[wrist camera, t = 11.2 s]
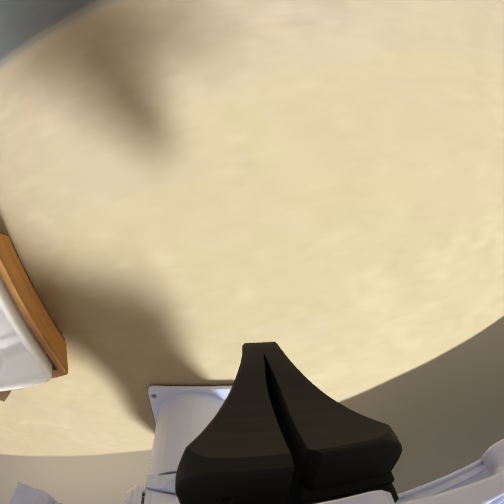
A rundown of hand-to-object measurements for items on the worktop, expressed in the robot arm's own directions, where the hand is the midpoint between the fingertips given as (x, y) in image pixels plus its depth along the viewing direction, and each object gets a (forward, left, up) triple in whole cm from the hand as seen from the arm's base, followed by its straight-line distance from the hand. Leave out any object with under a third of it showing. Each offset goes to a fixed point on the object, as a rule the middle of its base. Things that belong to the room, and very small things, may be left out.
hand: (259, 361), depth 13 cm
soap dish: (-3, +20, -11) cm, 23 cm away
